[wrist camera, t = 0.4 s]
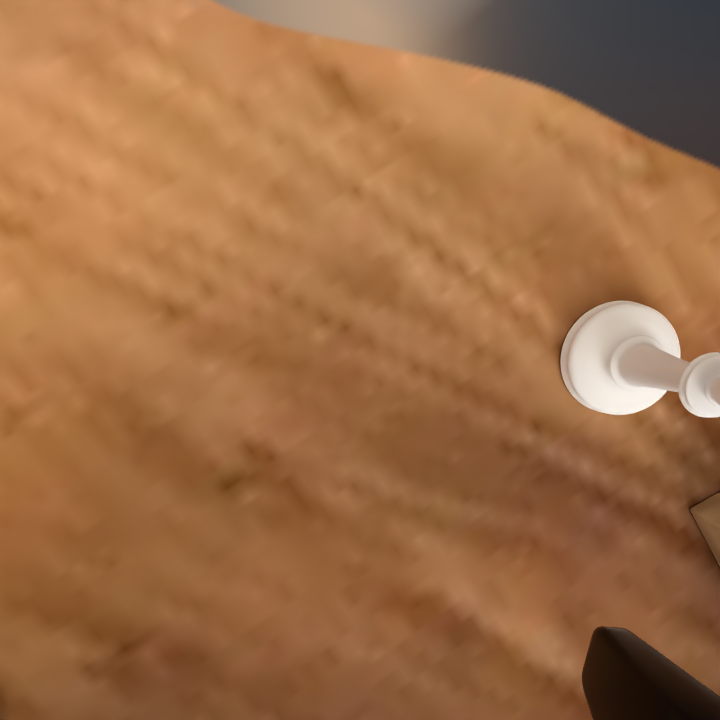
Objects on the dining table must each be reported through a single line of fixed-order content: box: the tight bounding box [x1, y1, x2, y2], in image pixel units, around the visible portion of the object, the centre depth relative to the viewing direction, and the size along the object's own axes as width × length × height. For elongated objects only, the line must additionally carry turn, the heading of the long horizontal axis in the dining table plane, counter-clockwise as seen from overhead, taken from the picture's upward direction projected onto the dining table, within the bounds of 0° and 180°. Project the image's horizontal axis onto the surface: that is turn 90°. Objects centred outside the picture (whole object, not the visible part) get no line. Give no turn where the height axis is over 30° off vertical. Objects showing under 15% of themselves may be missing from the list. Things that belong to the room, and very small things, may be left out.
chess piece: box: [560, 301, 720, 417], centre depth 16 cm, size 5×5×10 cm
